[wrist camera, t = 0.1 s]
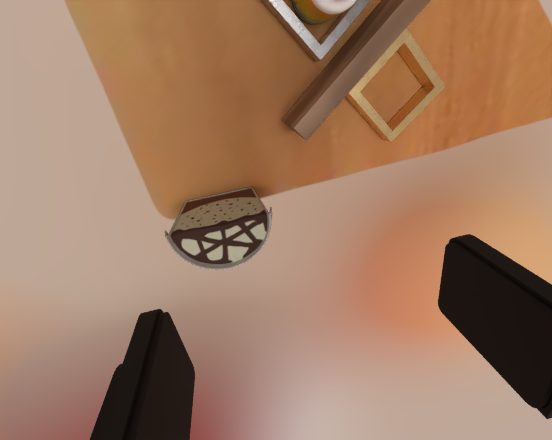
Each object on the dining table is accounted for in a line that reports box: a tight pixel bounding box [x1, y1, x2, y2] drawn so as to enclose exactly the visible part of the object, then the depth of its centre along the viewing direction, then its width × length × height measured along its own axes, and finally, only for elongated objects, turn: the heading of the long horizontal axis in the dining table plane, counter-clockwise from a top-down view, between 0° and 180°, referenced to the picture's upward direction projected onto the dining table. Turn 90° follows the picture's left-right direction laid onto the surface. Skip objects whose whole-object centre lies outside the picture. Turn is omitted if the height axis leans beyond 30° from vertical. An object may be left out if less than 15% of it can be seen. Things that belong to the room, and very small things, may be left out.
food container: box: [165, 187, 272, 270], centre depth 37 cm, size 12×6×10 cm, turn 99°
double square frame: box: [261, 0, 445, 142], centre depth 34 cm, size 23×9×2 cm, turn 48°
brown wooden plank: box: [282, 0, 430, 140], centre depth 32 cm, size 2×24×7 cm, turn 137°
